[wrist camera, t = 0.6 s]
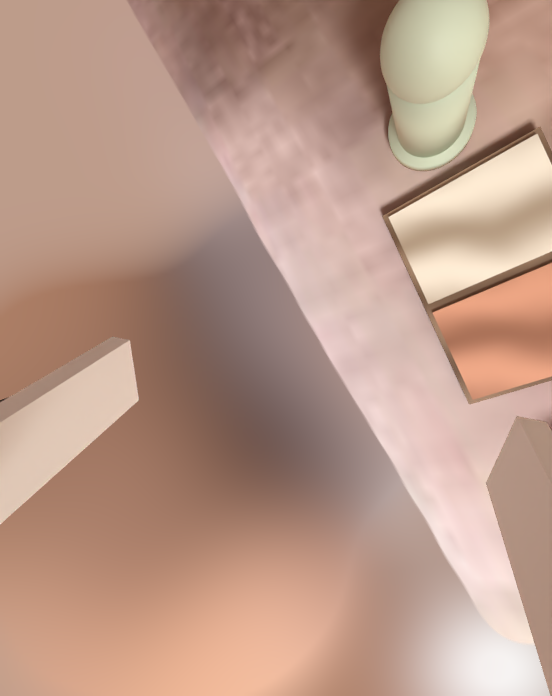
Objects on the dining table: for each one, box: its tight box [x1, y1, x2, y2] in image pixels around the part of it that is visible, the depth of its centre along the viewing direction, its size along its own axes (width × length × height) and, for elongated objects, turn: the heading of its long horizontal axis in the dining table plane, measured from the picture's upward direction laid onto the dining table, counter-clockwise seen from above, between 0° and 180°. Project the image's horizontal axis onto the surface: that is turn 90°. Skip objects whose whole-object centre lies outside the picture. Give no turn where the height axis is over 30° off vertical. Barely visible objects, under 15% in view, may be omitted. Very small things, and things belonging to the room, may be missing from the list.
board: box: [383, 127, 552, 404], centre depth 28 cm, size 18×12×1 cm, turn 26°
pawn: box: [380, 0, 489, 171], centre depth 23 cm, size 6×6×14 cm
